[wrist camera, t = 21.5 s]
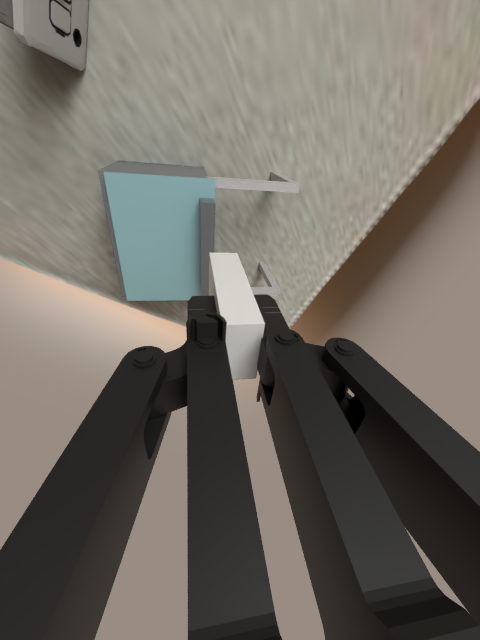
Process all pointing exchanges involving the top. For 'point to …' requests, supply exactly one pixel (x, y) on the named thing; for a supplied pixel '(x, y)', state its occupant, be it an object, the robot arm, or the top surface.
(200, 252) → the lid
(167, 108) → the top surface
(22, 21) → the electrical switch
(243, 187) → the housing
